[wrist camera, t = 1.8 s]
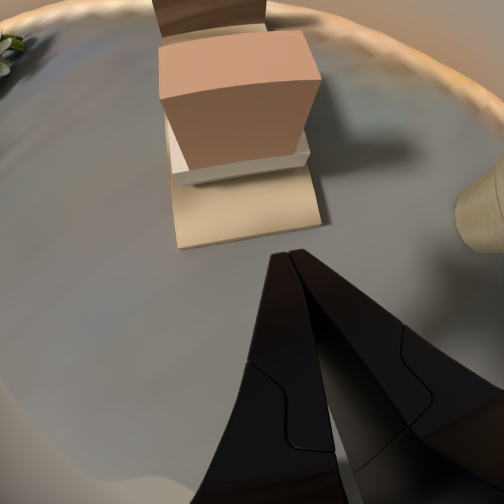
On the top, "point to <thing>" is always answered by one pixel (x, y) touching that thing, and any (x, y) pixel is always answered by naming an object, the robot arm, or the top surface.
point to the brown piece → (237, 104)
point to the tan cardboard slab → (239, 188)
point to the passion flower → (9, 43)
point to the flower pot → (483, 212)
